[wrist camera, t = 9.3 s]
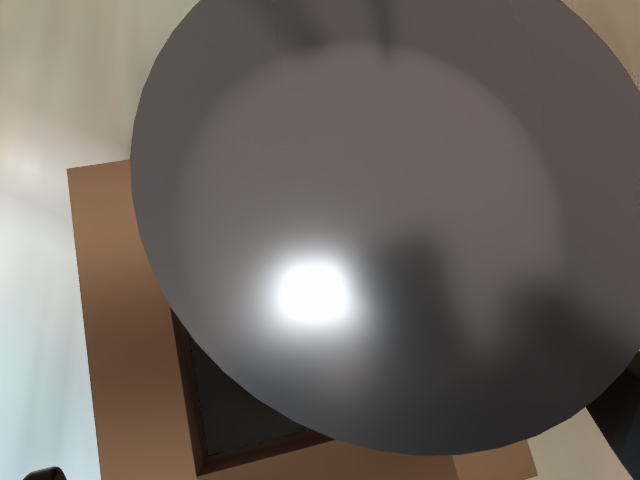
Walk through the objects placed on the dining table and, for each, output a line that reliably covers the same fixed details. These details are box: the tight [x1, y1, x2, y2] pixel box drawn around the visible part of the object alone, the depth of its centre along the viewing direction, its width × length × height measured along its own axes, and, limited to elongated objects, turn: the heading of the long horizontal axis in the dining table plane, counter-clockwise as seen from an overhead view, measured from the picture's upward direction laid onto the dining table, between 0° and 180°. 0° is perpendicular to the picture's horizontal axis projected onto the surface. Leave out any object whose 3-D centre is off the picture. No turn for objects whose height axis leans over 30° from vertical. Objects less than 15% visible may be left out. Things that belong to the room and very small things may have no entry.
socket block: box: [67, 160, 538, 480], centre depth 14 cm, size 10×10×4 cm
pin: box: [130, 0, 640, 456], centre depth 10 cm, size 4×4×13 cm
